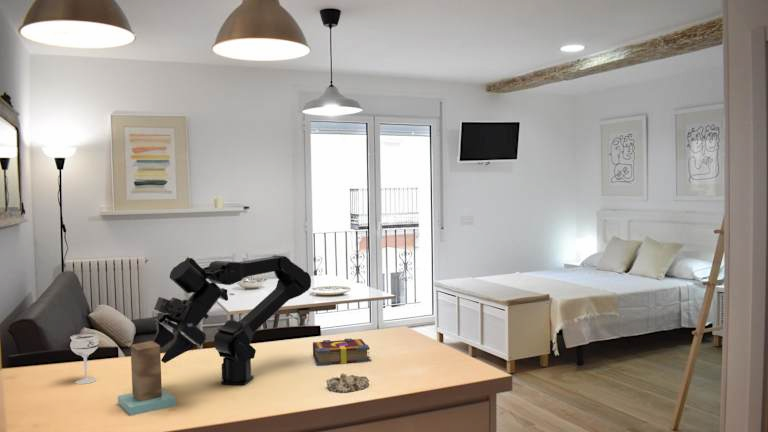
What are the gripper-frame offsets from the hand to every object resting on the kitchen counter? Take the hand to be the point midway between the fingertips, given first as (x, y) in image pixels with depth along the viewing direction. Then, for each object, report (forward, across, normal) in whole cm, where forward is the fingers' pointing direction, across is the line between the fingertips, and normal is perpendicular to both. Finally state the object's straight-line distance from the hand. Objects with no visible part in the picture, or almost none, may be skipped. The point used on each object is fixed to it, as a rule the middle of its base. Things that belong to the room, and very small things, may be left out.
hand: (155, 357), depth 141 cm
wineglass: (+14, -29, +1) cm, 32 cm away
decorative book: (-29, 0, +46) cm, 55 cm away
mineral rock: (-20, +22, +36) cm, 46 cm away
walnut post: (+8, 0, +4) cm, 9 cm away
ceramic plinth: (+10, 0, +6) cm, 11 cm away
